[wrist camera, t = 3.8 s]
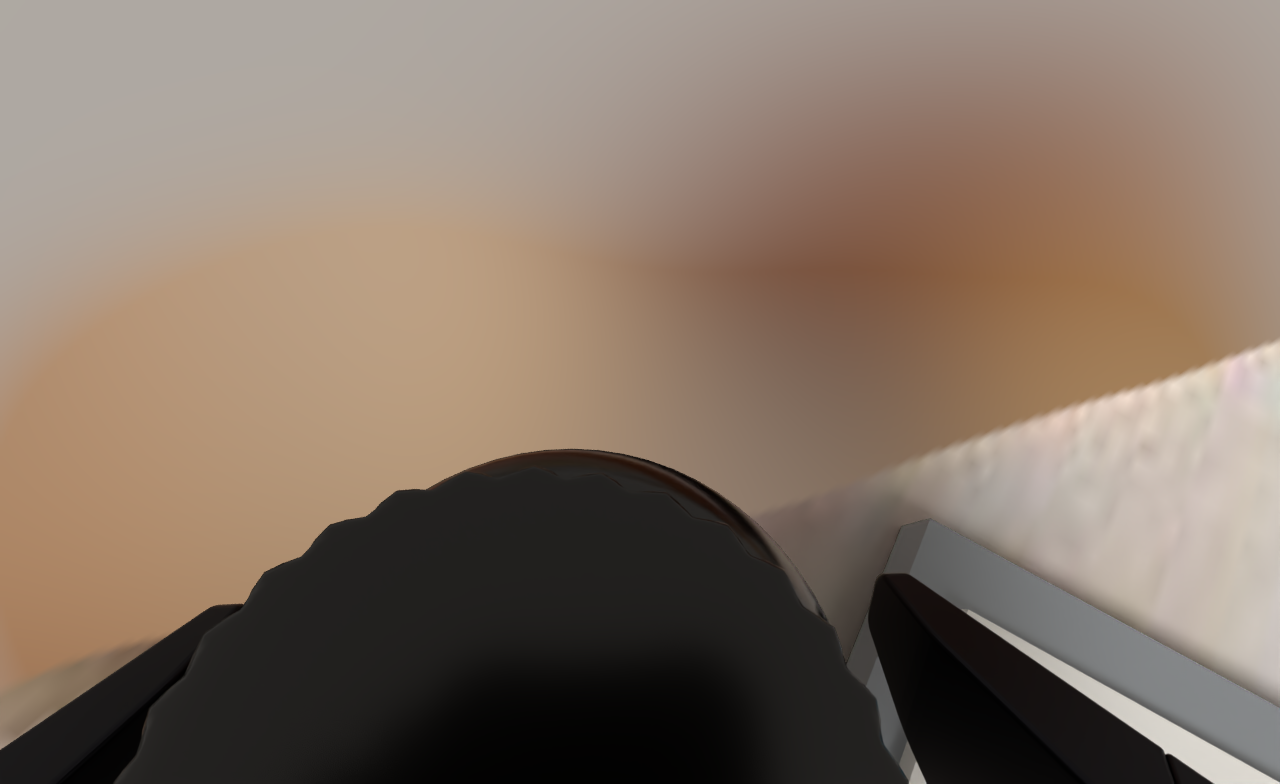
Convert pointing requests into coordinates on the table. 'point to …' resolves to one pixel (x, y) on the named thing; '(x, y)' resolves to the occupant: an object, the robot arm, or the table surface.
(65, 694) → the table surface
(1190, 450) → the table surface
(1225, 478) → the table surface
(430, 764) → the supplement bottle
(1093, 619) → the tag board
